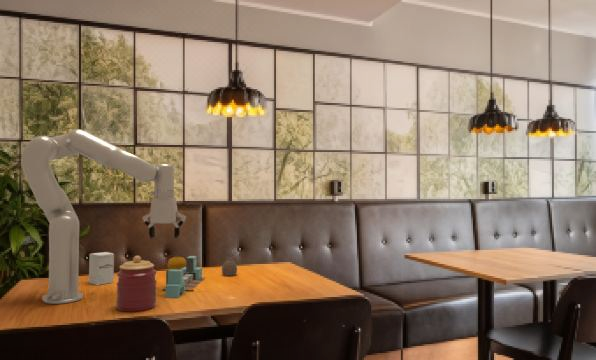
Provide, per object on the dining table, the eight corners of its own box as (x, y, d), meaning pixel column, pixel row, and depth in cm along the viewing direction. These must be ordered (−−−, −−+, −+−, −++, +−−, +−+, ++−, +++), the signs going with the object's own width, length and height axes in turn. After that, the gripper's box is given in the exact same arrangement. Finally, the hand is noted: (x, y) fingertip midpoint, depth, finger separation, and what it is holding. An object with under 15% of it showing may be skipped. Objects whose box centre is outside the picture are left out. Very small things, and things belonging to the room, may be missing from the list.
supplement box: (97, 285, 183) (97, 255, 183) (88, 283, 187) (88, 253, 187) (114, 282, 189) (114, 253, 189) (104, 280, 193) (105, 251, 193)
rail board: (192, 291, 174) (192, 282, 174) (162, 290, 175) (162, 282, 175) (206, 279, 196) (206, 271, 196) (180, 279, 197) (180, 271, 197)
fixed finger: (201, 277, 196) (202, 256, 196) (198, 280, 190) (198, 258, 190) (184, 277, 196) (184, 255, 196) (180, 279, 190) (180, 257, 191)
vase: (238, 276, 205) (238, 257, 205) (234, 279, 198) (235, 259, 198) (224, 275, 205) (224, 256, 206) (219, 278, 199) (220, 259, 199)
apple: (165, 274, 207) (165, 255, 207) (184, 272, 211) (185, 254, 211) (168, 278, 199) (168, 258, 199) (188, 276, 203) (188, 257, 203)
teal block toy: (178, 297, 164) (178, 272, 164) (163, 297, 164) (163, 272, 165) (184, 292, 172) (185, 268, 172) (170, 292, 172) (171, 268, 173)
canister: (160, 301, 158) (161, 252, 159) (149, 312, 145) (150, 258, 146) (124, 301, 158) (124, 252, 158) (110, 312, 145) (110, 258, 145)
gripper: (139, 195, 172) (139, 238, 172) (183, 194, 172) (183, 238, 172) (145, 194, 180) (146, 236, 180) (188, 194, 180) (188, 236, 180)
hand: (164, 237), depth 176 cm, fingers open, 9 cm apart
